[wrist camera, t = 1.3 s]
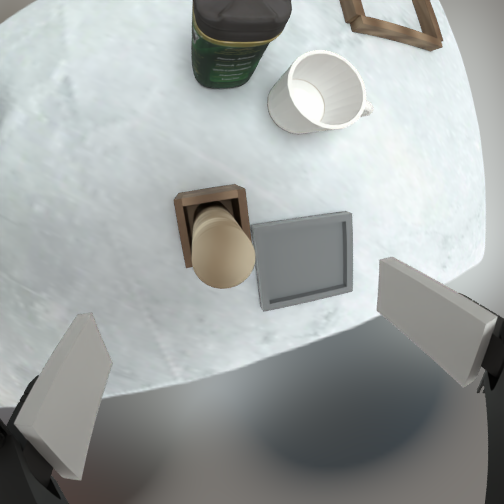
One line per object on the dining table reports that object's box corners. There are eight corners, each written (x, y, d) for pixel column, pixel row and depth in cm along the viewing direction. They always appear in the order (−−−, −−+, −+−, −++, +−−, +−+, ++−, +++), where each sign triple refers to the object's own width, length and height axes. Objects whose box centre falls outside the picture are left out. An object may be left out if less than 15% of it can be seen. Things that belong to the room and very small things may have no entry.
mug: (257, 128, 35) (279, 114, 25) (270, 68, 33) (295, 38, 23) (333, 149, 37) (375, 146, 28) (343, 92, 35) (385, 75, 25)
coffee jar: (255, 88, 33) (306, 29, 16) (193, 92, 32) (193, 27, 14) (249, 27, 30) (289, -53, 13) (190, 30, 29) (192, -56, 12)
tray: (260, 305, 42) (263, 311, 40) (250, 225, 38) (253, 227, 36) (347, 286, 44) (352, 291, 42) (345, 211, 40) (351, 213, 38)
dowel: (196, 237, 36) (197, 293, 20) (191, 202, 35) (186, 233, 19) (230, 231, 37) (258, 282, 21) (226, 197, 36) (251, 222, 20)
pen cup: (187, 247, 37) (186, 268, 30) (178, 193, 35) (173, 199, 28) (241, 238, 38) (253, 256, 31) (234, 184, 36) (245, 188, 29)
